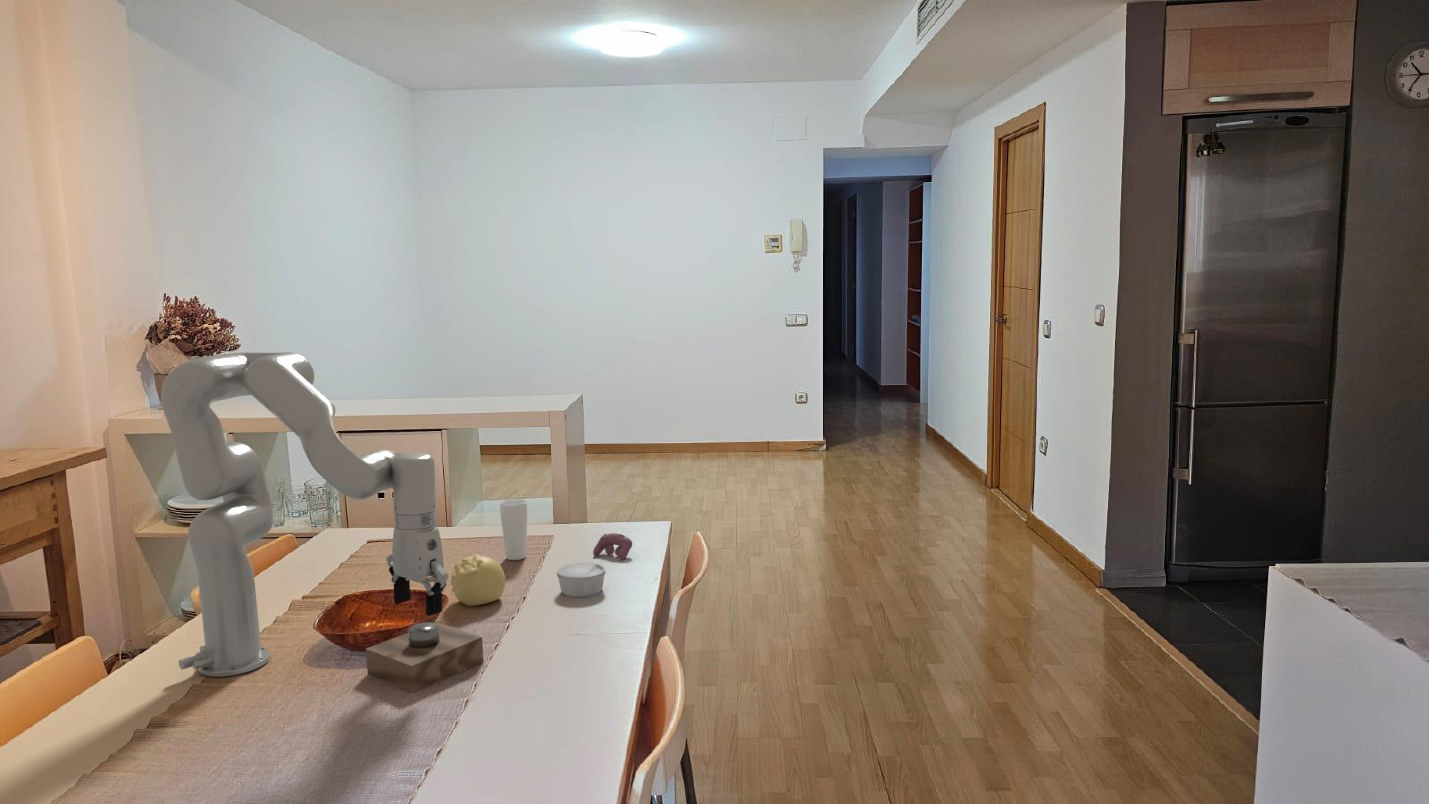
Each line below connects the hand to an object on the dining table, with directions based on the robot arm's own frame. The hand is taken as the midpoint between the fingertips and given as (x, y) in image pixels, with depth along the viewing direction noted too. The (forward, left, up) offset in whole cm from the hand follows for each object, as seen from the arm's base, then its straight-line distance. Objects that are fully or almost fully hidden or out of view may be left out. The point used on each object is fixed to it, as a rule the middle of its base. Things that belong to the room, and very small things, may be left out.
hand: (417, 607), depth 179 cm
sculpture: (+30, +20, -12) cm, 39 cm away
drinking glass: (+57, +38, -12) cm, 70 cm away
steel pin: (0, -1, -11) cm, 11 cm away
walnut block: (0, -1, -12) cm, 12 cm away
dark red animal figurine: (+73, +18, -12) cm, 76 cm away
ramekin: (+48, +5, -12) cm, 50 cm away
